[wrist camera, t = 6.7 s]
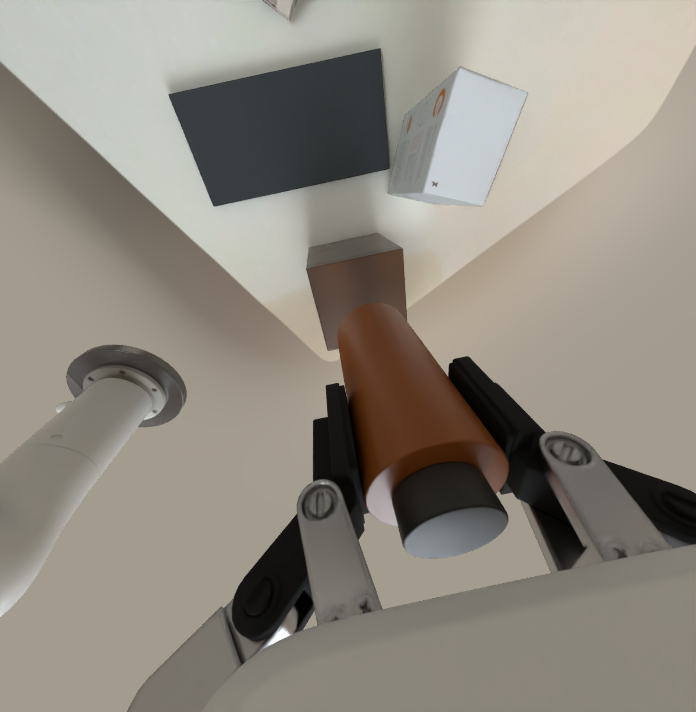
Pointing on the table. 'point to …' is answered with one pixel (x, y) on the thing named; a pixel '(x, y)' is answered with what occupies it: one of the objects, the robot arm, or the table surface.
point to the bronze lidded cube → (355, 279)
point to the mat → (287, 127)
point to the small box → (456, 140)
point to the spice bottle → (418, 439)
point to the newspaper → (283, 7)
